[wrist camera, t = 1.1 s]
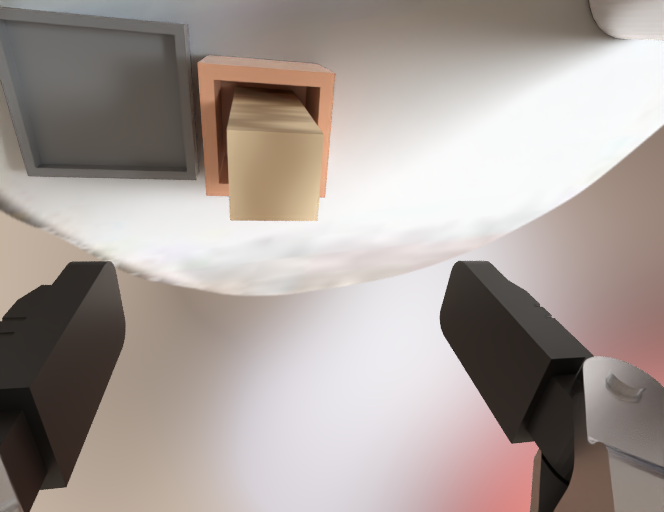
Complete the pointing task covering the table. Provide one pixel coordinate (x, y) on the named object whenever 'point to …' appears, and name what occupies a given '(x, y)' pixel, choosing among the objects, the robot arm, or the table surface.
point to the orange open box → (230, 72)
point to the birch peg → (273, 157)
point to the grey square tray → (99, 95)
